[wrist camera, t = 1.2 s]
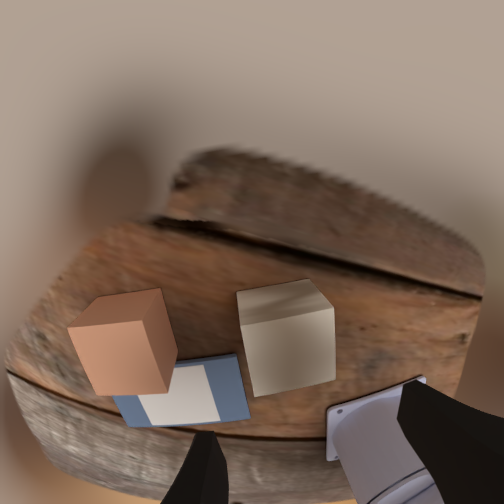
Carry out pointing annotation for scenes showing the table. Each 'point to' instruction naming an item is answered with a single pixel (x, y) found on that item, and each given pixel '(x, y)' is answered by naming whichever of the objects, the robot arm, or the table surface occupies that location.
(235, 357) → the blue flat board
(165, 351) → the terracotta block
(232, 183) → the table surface
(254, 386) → the cream block
